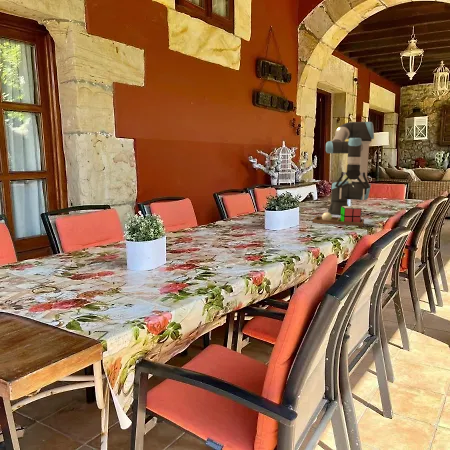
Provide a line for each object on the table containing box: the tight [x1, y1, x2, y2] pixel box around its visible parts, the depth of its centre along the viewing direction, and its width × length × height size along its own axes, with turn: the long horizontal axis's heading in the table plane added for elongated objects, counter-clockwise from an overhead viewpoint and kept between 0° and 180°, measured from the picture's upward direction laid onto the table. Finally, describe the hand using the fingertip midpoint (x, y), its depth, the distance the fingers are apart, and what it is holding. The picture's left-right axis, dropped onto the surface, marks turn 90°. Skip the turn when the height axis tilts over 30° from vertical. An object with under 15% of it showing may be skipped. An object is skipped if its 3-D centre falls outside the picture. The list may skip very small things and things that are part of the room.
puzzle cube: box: [340, 205, 362, 223], centre depth 261 cm, size 10×10×10 cm
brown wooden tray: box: [312, 215, 365, 229], centre depth 264 cm, size 15×29×3 cm, turn 68°
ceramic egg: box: [321, 211, 333, 220], centre depth 266 cm, size 6×6×6 cm
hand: (351, 199), depth 259 cm, fingers open, 13 cm apart
